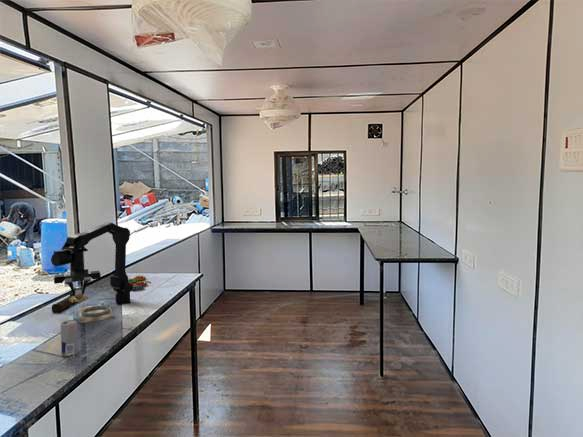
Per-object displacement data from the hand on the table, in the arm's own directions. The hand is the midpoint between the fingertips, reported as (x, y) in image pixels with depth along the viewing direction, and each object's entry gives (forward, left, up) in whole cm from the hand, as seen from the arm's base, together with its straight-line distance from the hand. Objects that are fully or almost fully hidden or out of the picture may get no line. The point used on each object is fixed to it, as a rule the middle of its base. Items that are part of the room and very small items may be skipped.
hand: (78, 295), depth 180 cm
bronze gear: (0, 0, -2) cm, 2 cm away
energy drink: (+4, +42, -11) cm, 43 cm away
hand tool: (+5, -22, -11) cm, 25 cm away
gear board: (-7, -1, -11) cm, 13 cm away
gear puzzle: (-32, -48, -11) cm, 59 cm away
